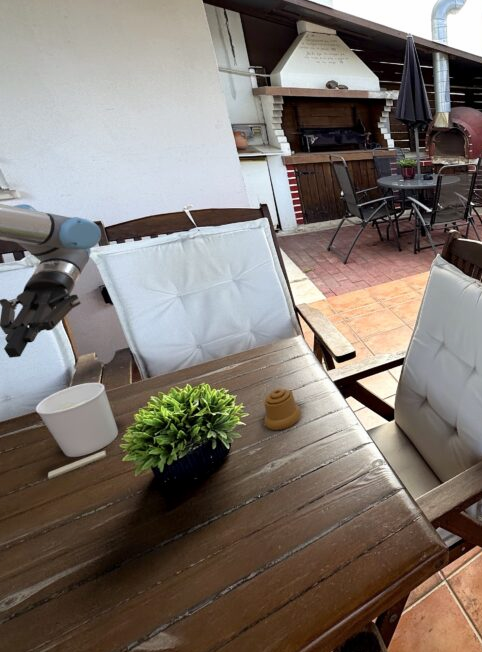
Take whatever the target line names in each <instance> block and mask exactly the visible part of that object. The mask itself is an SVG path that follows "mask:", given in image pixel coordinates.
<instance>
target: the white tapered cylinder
mask: <svg viewBox="0 0 482 652" xmlns="http://www.w3.org/2000/svg"><path fill="white" fill-rule="evenodd" d="M35 412H36V414H37V415H39V418H40V419H41V420H42V422H43V423H44V425H45V426H46V428H47V430H48V431H49V433H50V434H51V436H52V437H53V439H54V440H55V442H56V444H57V445H58V447H59V448H60V449H61V451H62V453H63V454H64V455H65V456H66V457H70V458H78V457H83V456H84V457H85V456H87V455H91V454H93V453H95V452H97V451H100V450H102V449H103V448H105V447H107V446H108V445H110V444H111V443H113V442H114V441H115V439H116V438H117V437H118V435H119V429H118V426H117V423H116V420H115V417H114V413H113V411H112V407H111V404H110V401H109V398H108V395H107V391H106V387H105V385H104V384H103V383H101V382H87V383H85V382H84V383H81V384H77V385H72V386H70V387H67V388H64V389H61V390H59V391H56V392H54V393H52V394H50V395H48V396H47V397H45V398H44V399H42V400H41V401H40V402H39V403H37V405H36V407H35Z"/></svg>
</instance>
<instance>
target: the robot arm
mask: <svg viewBox="0 0 482 652" xmlns="http://www.w3.org/2000/svg"><path fill="white" fill-rule="evenodd" d="M101 239H102V231H101V228H100V227H99V225H98V224H96V223H95V222H94V221H92V220H90V219H87V218H82V217H78V216H73V217H70V216H65V215H59V214H54V213H49V212H44V211H39V210H37V209H36V208H34V207H33V206H31V205H30V204H27V203H26V204H25V203H23V204H22V203H21V204H17V205H8V204H4V203H3V204H1V203H0V240H1V241H6V242H7V241H9V242H14V243H16V244H18V245H19V246H20V247H22V248H23V249H24V250H25V251H27V253H29V254H30V255H31V256H33V257H34V258H36V259H37V260H38V261H39V263H38V265H37V267H36V269H35V270H34V271H33V273H32V274H31V277H30V278H29V279H28V280H27V282H26V284H25V285H24V288H23V291H22V292H21V293H19V294H18V295H16V298H12V299H7V298H2V299H0V306H1V312H0V329H1V330H2V332H3V333H4V334H5V335H6V336H5V338H4V340H5V341H6V344H5V346H4V348H3V350H4V351H5V353H6V354H7V356H8V357H9V358H10V359H11V358H19V357H21V356H22V354H23V352H24V350H25V349H26V347H27V345H28V344H30V343H33V342H34V341H35V340H36V339H37V338H36V337H37V336H38V334H40V333H41V332H42V331H47V332H48V331H52V330H53V329H54V328H55V327H57V325H58V324H59V323H60V322H61V321H62V320H63V319H64V318H65V317H66V316H67V315H68V314H69V313H70V312H71V311H72V310H73V309H75V308H76V307H78V306H79V305H81V301H80V298H79V296H78V294H72V292H73V290H74V288H75V286H76V284H77V282H78V281H79V278H80V276H81V274H82V272H83V270H84V269H85V267H86V266H87V264H88V262H89V260H90V256H91V248H94V247H95V246H97V245H98V244H99V243H100V241H101ZM19 304H20V305H21V306H22V307H21V309H20V310H19V312H18V313H17V315H16V311H15V310H17V307H18V306H19ZM15 316H16V317H15Z"/></svg>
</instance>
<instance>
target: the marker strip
mask: <svg viewBox="0 0 482 652" xmlns="http://www.w3.org/2000/svg"><path fill="white" fill-rule="evenodd" d="M106 457H107V451H106V450H102V451H100V452H97V453H95V454H92V455H89V456H87V457H84V458H82V459H79V460H76V461H74V462H71V463H69V464H66V465H64V466H61V467H59V468H56V469H54V470H51V471H49V472H47V473H48V474H47V478H48V480H51V479H53V478H56V477H58V476H60V475H63V474H67V473H68V472H70V471H73V470H76V469H79V468H81V467H84V466H86V465H88V464H90V463H91V464H92V463H93V462H95V461H99V460H101V459H104V458H106Z"/></svg>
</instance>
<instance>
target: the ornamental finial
mask: <svg viewBox="0 0 482 652" xmlns="http://www.w3.org/2000/svg"><path fill="white" fill-rule="evenodd" d="M263 403H264V408H265V413H266V414H265V417H264V418H263V419H264V422H263V423H264V425H265V427H266V428H267V429H269V430H272V431H282V430H285V429H288V428H290V427H292V426H293V425H295V424H296V423H297V422H298V421H299V420H300V418H301V416H302V409H301V407H300V406H299V405H298V404H296V401H295V397H294V394H293V391H292V390H289V389H286V388H285V389H284V388H277V389H274V390H273V391H271V392H270V393H269V394H268V395H267V396H266V397H265V399H264V401H263Z"/></svg>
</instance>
